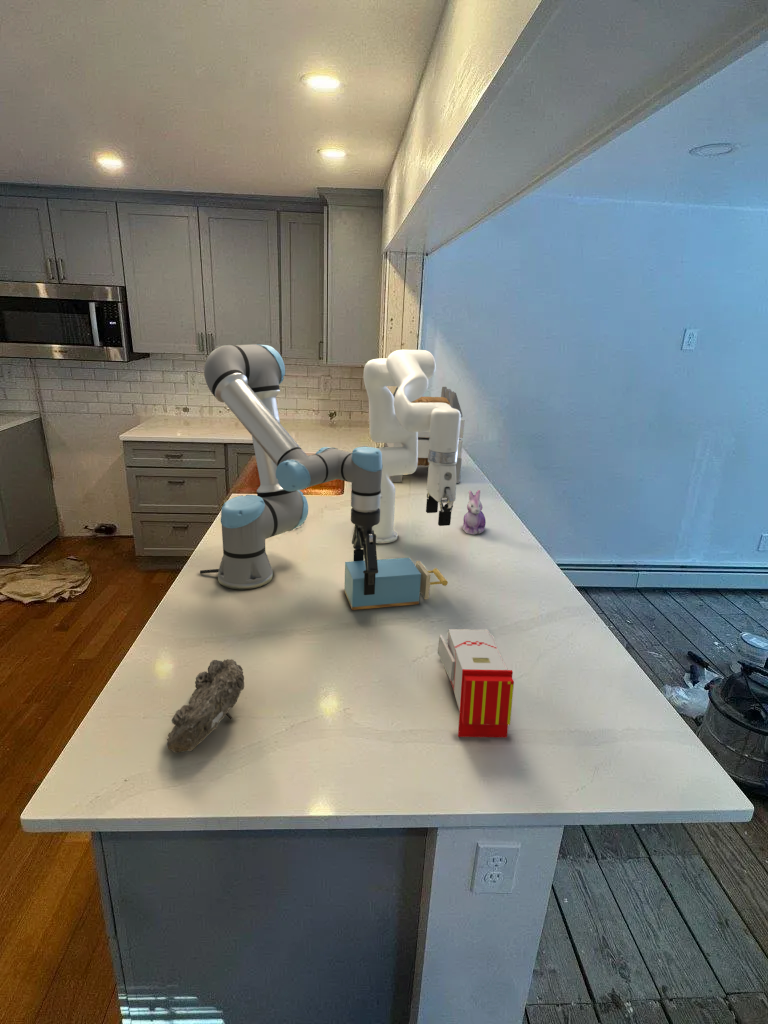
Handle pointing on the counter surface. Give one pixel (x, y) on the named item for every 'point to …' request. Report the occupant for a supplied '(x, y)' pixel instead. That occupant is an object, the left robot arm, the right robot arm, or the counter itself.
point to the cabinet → (383, 584)
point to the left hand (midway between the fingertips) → (363, 582)
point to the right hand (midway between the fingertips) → (437, 518)
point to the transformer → (423, 436)
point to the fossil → (206, 705)
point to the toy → (478, 682)
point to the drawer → (426, 577)
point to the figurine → (474, 515)
